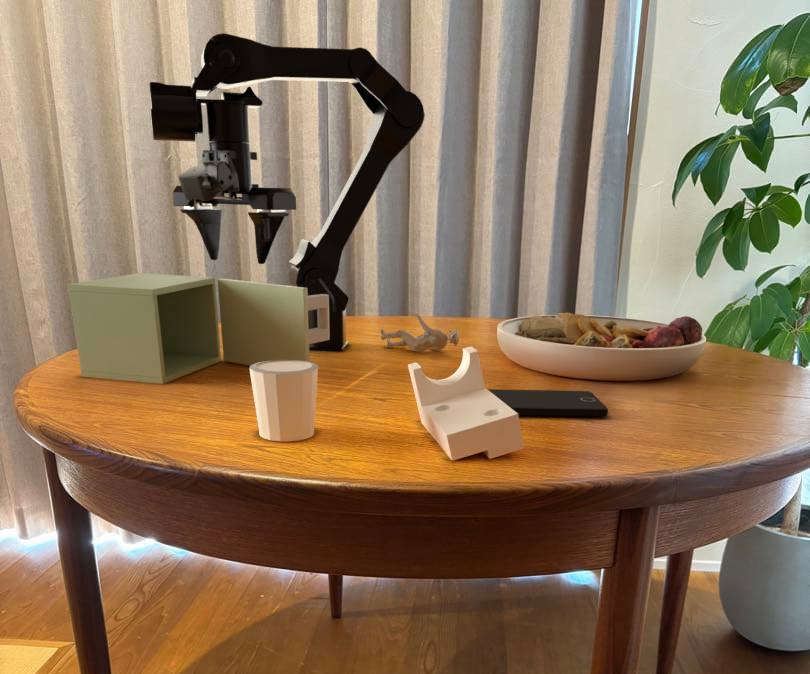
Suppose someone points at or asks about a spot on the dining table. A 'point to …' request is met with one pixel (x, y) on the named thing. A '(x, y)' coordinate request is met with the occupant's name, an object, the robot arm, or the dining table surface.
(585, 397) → the cell phone
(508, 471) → the dining table surface
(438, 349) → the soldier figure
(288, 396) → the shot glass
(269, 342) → the cupboard door
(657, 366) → the bowl
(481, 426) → the bracket
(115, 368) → the cupboard
